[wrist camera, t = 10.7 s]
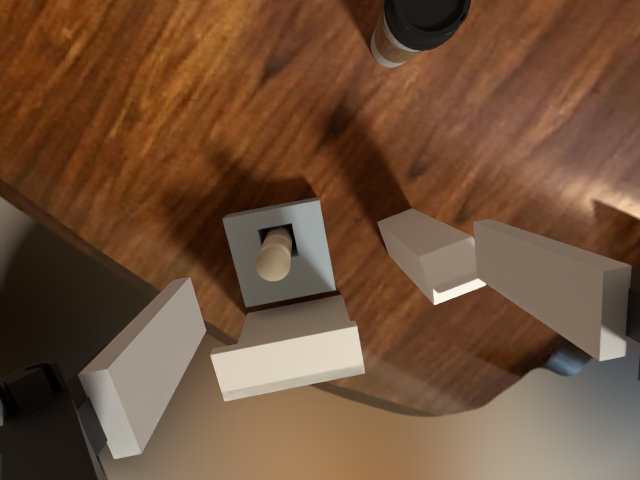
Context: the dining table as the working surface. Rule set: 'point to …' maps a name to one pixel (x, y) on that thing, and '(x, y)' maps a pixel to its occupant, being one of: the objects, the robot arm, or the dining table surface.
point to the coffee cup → (414, 28)
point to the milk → (431, 254)
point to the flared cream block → (290, 349)
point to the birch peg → (275, 254)
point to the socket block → (306, 261)
